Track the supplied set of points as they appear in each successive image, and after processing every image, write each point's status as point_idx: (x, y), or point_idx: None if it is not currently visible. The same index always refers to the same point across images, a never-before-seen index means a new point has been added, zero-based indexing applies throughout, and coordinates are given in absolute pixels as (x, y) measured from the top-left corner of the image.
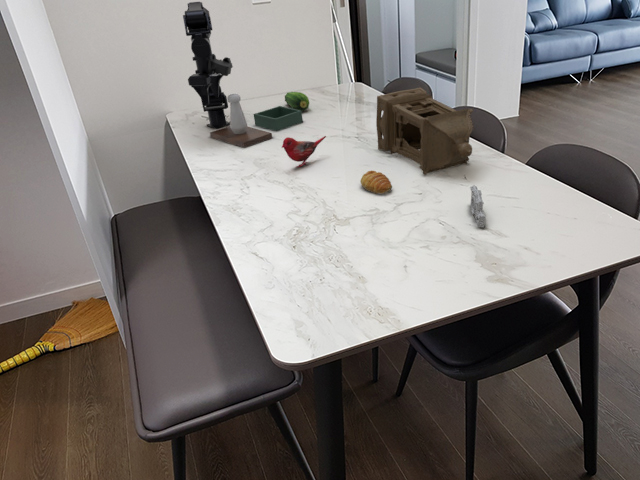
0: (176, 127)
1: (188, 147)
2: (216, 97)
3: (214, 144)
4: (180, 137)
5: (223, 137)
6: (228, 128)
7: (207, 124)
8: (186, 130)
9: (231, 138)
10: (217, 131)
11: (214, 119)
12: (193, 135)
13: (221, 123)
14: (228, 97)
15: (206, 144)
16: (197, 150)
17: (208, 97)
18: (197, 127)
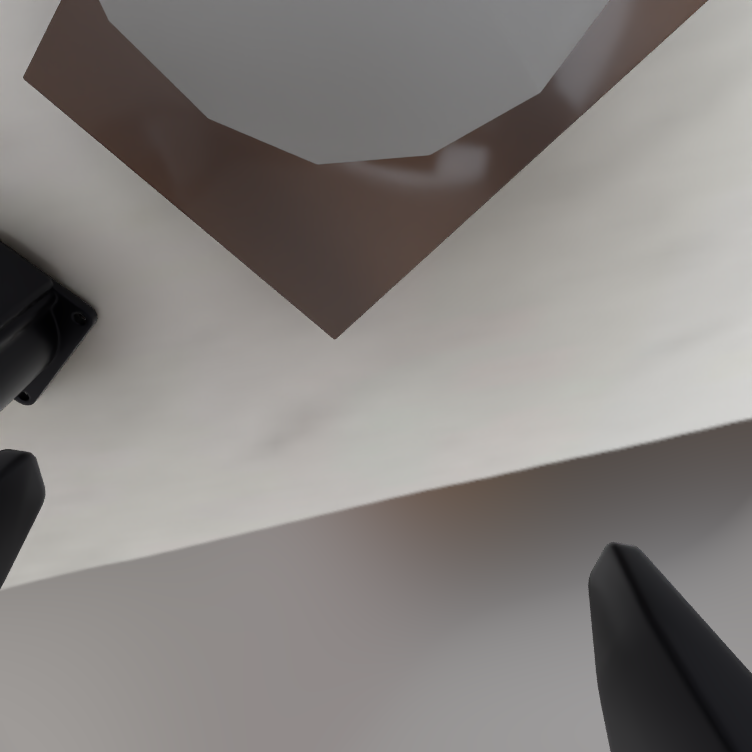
0: (89, 564)
1: (569, 438)
2: (40, 477)
3: (573, 244)
4: (306, 517)
5: (521, 166)
6: (217, 164)
7: (20, 400)
8: (149, 507)
9: (655, 32)
10: (317, 271)
11: (17, 360)
12: (269, 450)
13: (29, 280)
14: (541, 82)
15: (543, 318)
16: (689, 362)
17: (721, 685)
18: (73, 455)
